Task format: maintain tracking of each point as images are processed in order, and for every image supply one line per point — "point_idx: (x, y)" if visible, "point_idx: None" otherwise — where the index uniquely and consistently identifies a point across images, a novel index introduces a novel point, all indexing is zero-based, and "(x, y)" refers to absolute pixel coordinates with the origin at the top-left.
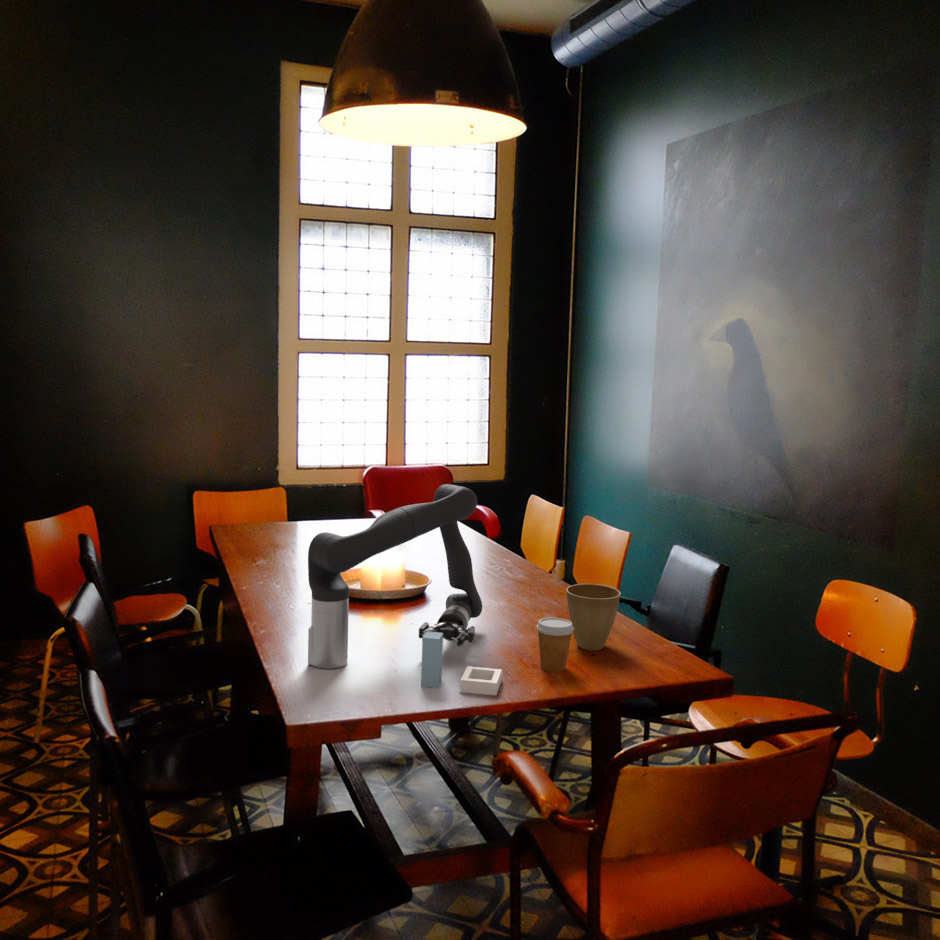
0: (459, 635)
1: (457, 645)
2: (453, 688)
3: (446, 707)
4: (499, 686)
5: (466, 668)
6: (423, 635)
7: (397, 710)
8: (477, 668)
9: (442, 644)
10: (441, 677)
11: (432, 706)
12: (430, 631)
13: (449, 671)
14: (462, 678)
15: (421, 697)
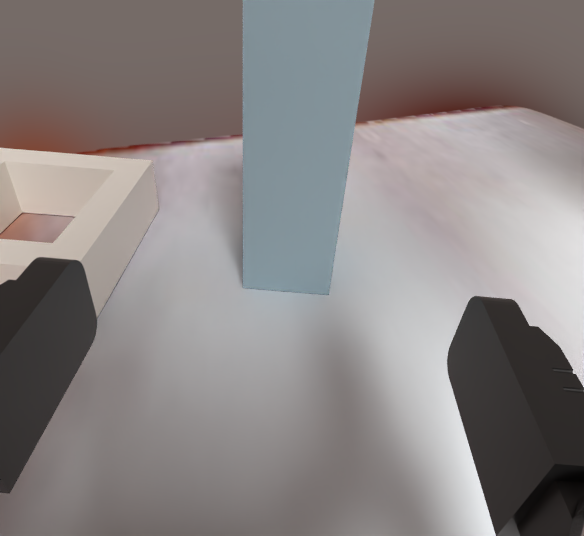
0: (7, 327)
1: (92, 323)
2: (184, 231)
3: (214, 146)
4: None
5: (90, 243)
6: (543, 343)
7: None
8: (14, 248)
9: (244, 77)
10: (243, 271)
11: None
12: (567, 532)
13: (195, 413)
14: (141, 168)
15: None
